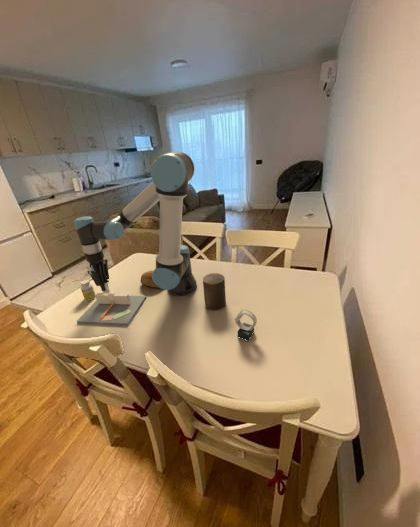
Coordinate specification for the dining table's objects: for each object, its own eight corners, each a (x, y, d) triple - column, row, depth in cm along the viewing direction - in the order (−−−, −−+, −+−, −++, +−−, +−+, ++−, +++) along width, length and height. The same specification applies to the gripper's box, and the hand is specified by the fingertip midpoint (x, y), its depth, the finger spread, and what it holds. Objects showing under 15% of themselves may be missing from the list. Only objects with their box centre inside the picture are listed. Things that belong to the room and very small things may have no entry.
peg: (131, 301, 113) (128, 291, 110) (118, 319, 101) (115, 308, 99) (100, 300, 115) (97, 290, 113) (84, 317, 104) (80, 307, 102)
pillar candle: (224, 311, 104) (222, 281, 97) (202, 309, 106) (199, 280, 99) (227, 298, 112) (226, 270, 106) (207, 297, 114) (204, 269, 108)
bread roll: (159, 292, 121) (156, 279, 118) (136, 287, 127) (133, 274, 124) (169, 283, 129) (167, 270, 125) (148, 278, 135) (145, 266, 131)
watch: (239, 327, 94) (238, 304, 89) (258, 333, 90) (259, 310, 85) (232, 336, 90) (232, 313, 85) (252, 343, 86) (253, 319, 81)
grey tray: (146, 298, 117) (145, 295, 117) (128, 325, 100) (127, 323, 99) (102, 296, 121) (101, 294, 121) (77, 323, 104) (76, 320, 103)
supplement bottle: (95, 299, 120) (89, 283, 115) (84, 301, 118) (77, 285, 114) (96, 293, 124) (91, 278, 120) (85, 296, 123) (79, 280, 119)
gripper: (94, 245, 113) (107, 287, 124) (76, 257, 102) (92, 302, 112) (108, 245, 112) (120, 287, 122) (92, 257, 100) (107, 302, 111)
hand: (107, 294), depth 117 cm, fingers closed
